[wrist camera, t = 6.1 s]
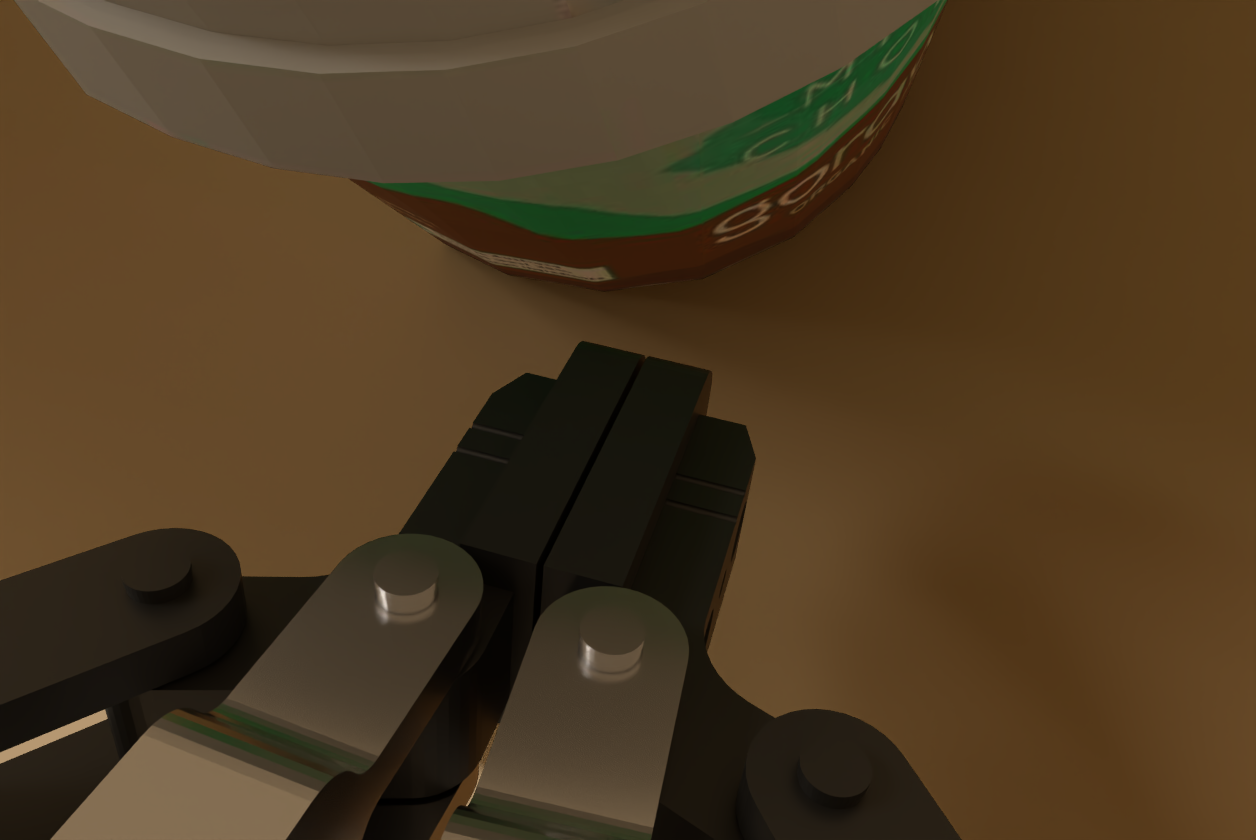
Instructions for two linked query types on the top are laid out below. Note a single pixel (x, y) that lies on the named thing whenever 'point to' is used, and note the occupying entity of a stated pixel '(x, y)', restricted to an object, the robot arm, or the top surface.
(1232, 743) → the top surface
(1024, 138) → the top surface
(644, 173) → the food container
